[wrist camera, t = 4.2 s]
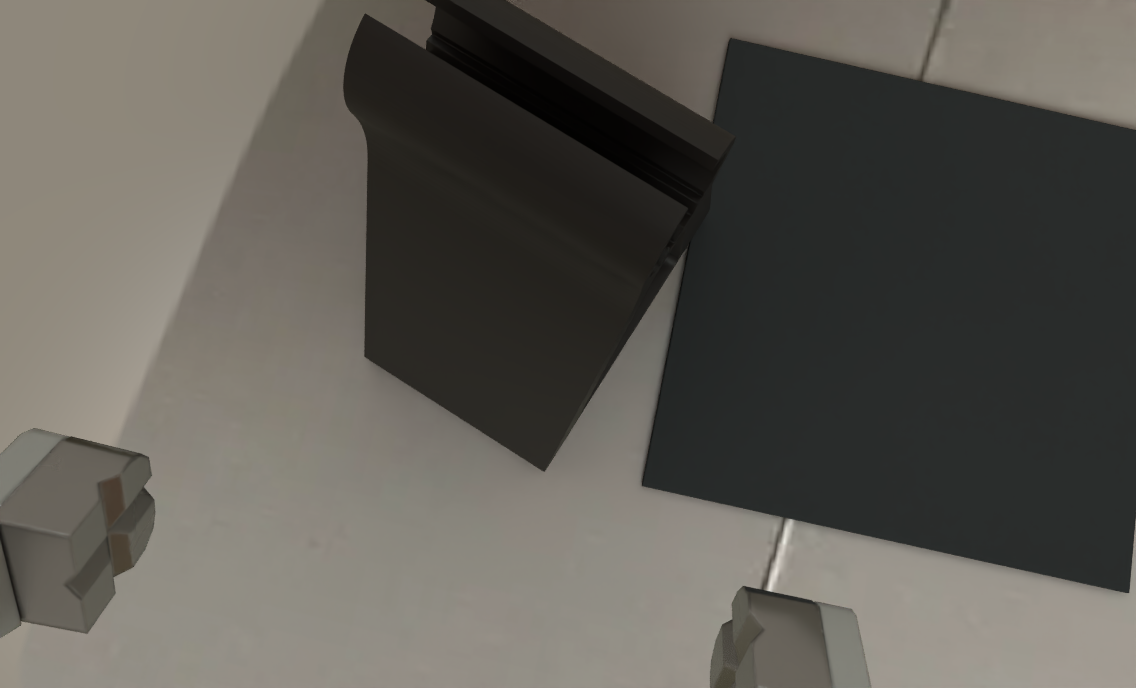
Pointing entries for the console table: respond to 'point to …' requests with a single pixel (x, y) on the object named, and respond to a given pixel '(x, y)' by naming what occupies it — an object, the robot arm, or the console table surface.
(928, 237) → the mat
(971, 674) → the console table surface
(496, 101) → the phone stand
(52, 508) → the robot arm
